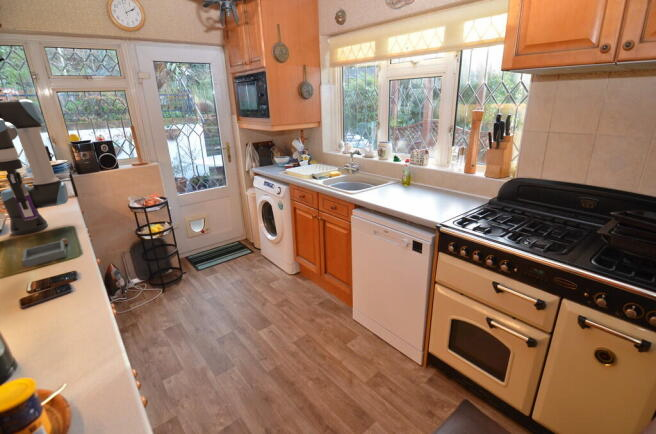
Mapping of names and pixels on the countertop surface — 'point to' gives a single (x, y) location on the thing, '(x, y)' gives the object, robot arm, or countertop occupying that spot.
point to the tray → (43, 253)
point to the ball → (64, 240)
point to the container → (28, 202)
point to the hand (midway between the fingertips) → (29, 214)
